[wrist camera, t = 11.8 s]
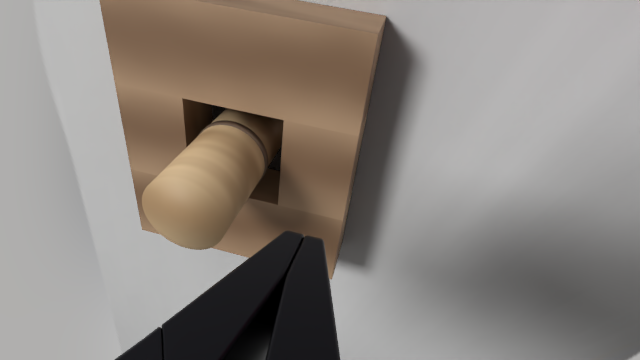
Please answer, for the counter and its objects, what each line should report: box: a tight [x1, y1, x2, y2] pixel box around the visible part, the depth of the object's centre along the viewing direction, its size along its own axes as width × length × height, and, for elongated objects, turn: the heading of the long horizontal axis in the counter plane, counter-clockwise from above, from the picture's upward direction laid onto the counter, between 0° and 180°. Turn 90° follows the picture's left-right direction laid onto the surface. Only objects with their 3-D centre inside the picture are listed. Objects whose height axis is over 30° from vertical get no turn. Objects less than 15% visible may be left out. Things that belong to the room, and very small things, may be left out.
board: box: [100, 0, 386, 279], centre depth 22 cm, size 14×12×3 cm
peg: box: [142, 108, 284, 250], centre depth 20 cm, size 4×4×8 cm
